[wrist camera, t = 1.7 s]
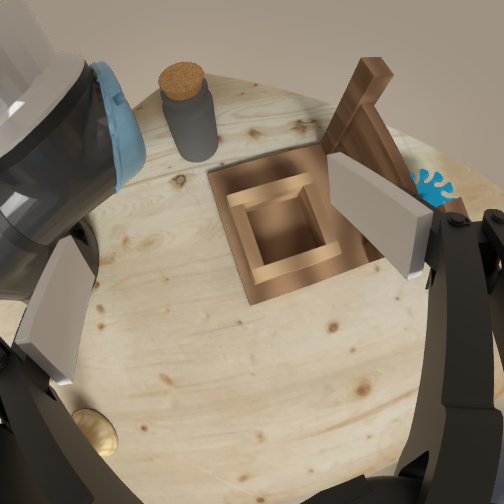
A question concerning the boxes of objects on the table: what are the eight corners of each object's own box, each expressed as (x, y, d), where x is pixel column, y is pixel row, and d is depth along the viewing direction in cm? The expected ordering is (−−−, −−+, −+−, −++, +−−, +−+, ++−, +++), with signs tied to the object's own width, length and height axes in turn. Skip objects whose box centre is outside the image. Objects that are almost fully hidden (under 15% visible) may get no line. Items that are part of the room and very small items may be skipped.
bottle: (181, 167, 40) (155, 103, 25) (175, 134, 40) (151, 66, 26) (222, 157, 40) (214, 88, 25) (214, 124, 41) (204, 53, 26)
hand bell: (73, 446, 32) (19, 488, 16) (69, 402, 33) (4, 435, 18) (119, 462, 32) (74, 517, 16) (117, 417, 33) (61, 465, 18)
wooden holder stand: (250, 305, 37) (258, 310, 18) (208, 177, 39) (185, 86, 21) (380, 257, 38) (471, 224, 20) (332, 143, 41) (380, 57, 22)
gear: (391, 169, 39) (454, 166, 32) (401, 180, 43) (458, 179, 36) (389, 243, 39) (456, 246, 32) (400, 247, 43) (458, 250, 36)
